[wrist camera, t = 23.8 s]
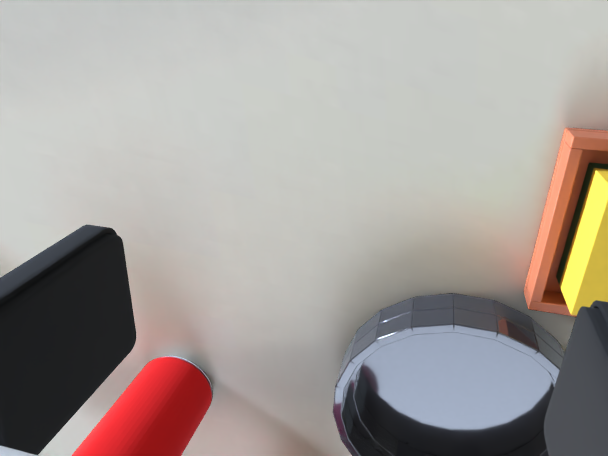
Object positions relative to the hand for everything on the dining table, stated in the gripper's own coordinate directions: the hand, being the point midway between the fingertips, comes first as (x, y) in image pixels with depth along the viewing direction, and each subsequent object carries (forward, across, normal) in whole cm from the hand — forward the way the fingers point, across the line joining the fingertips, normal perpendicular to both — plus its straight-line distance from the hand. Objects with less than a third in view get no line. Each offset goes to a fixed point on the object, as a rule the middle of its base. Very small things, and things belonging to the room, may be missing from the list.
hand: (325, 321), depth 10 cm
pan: (+20, -5, +18) cm, 28 cm away
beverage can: (+20, +16, +23) cm, 35 cm away
